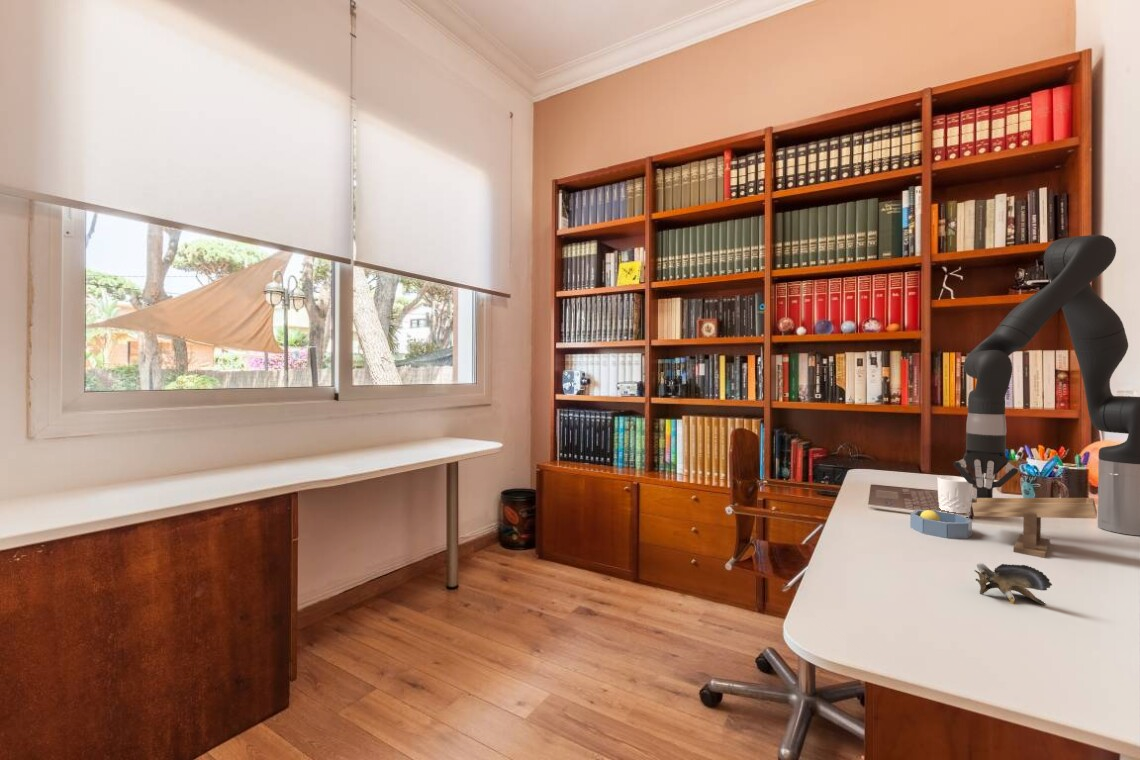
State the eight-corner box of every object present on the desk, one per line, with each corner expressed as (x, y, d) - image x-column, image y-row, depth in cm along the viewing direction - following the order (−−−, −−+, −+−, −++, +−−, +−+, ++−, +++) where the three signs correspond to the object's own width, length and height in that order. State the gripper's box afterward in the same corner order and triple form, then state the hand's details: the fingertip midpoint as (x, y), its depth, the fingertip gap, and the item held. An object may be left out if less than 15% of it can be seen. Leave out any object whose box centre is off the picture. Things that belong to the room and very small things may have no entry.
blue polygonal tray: (906, 530, 126) (906, 516, 126) (918, 521, 134) (918, 507, 134) (965, 541, 117) (965, 526, 117) (974, 531, 125) (974, 516, 125)
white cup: (960, 511, 143) (960, 476, 143) (979, 519, 136) (980, 481, 136) (930, 510, 144) (930, 475, 144) (948, 518, 136) (948, 481, 136)
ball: (941, 521, 128) (922, 515, 131) (942, 510, 126) (923, 504, 129) (936, 532, 126) (917, 526, 129) (937, 521, 124) (918, 514, 127)
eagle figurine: (992, 600, 84) (1060, 599, 81) (975, 556, 88) (1039, 553, 85) (982, 609, 90) (1045, 608, 87) (966, 567, 94) (1026, 565, 91)
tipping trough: (971, 517, 118) (968, 502, 119) (981, 507, 127) (978, 494, 128) (1096, 519, 104) (1092, 503, 104) (1097, 508, 112) (1094, 493, 113)
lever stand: (1013, 551, 111) (1013, 512, 111) (1020, 538, 120) (1021, 502, 119) (1044, 557, 107) (1045, 517, 107) (1049, 543, 116) (1050, 506, 116)
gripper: (949, 430, 126) (948, 500, 127) (1019, 435, 117) (1018, 511, 117) (955, 428, 131) (954, 495, 132) (1023, 433, 122) (1022, 505, 122)
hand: (984, 502), depth 124 cm, fingers closed
